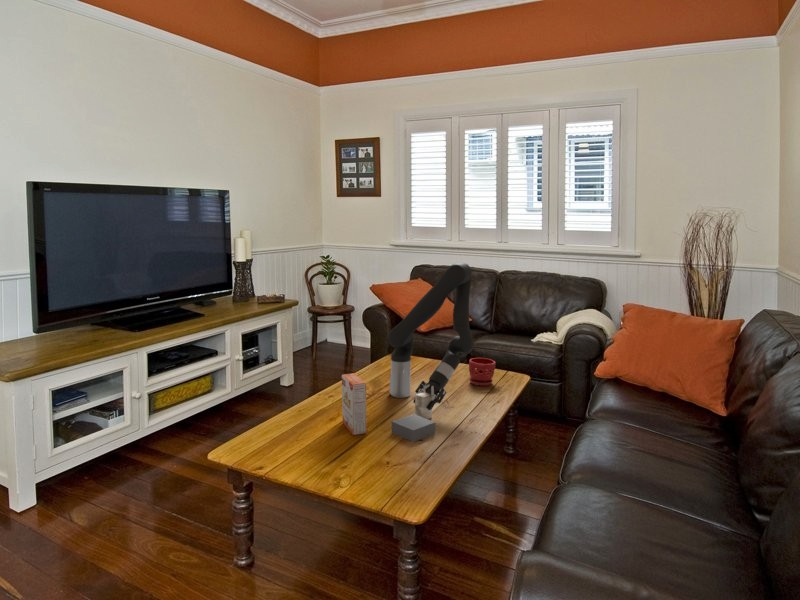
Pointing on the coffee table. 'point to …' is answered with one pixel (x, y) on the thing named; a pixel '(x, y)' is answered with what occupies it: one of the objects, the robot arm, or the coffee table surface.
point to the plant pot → (481, 371)
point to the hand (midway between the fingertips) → (421, 406)
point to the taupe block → (423, 405)
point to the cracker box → (354, 403)
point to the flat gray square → (413, 427)
